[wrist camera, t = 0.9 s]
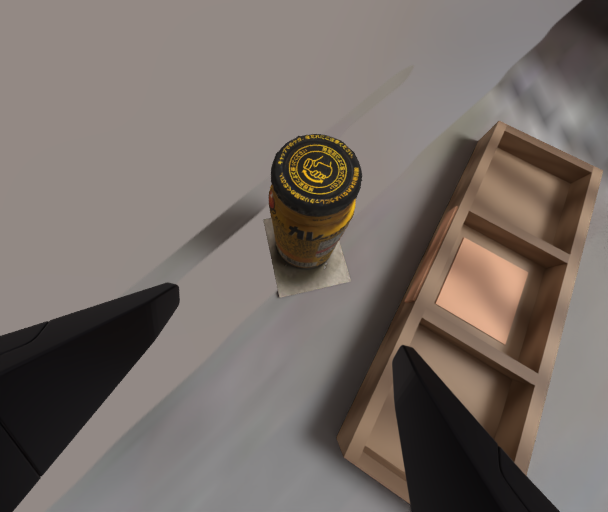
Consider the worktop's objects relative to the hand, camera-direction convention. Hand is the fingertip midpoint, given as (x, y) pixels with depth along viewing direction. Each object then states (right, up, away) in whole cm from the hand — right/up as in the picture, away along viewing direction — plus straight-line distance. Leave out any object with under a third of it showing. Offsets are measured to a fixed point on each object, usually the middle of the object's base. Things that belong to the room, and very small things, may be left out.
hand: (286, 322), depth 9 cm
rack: (+18, -1, +15) cm, 23 cm away
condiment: (+1, +3, +15) cm, 15 cm away
